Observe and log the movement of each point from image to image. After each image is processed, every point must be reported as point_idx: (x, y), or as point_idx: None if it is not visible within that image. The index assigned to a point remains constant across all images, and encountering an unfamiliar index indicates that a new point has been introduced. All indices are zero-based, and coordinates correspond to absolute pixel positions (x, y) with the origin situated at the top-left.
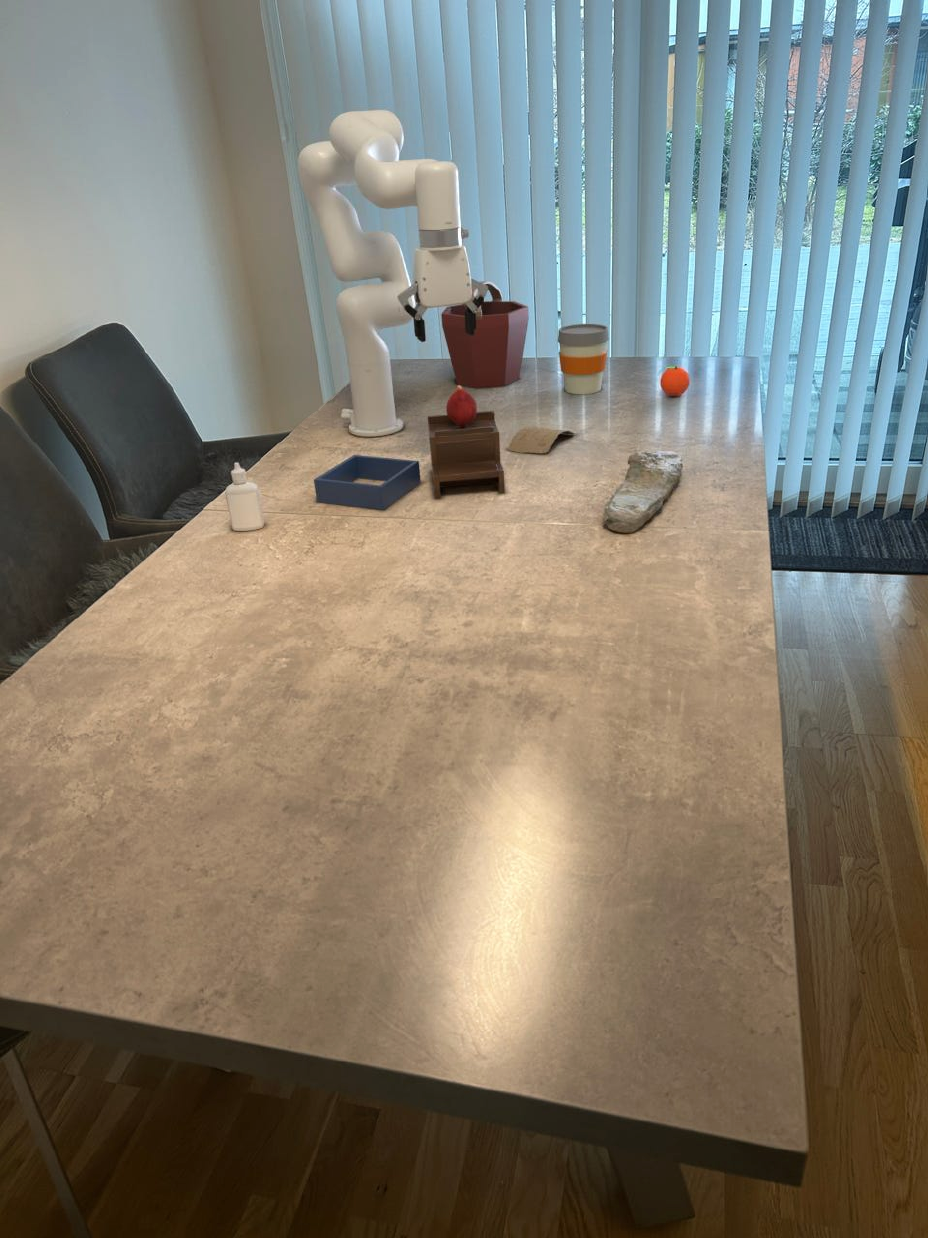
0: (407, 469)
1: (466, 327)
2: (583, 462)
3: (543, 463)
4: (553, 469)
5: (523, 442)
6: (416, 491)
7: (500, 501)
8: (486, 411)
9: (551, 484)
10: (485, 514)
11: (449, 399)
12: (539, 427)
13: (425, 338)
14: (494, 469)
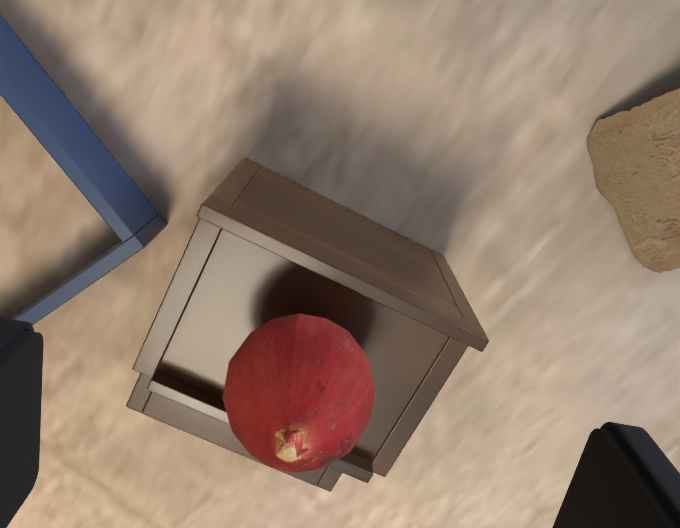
0: (76, 293)
1: (604, 498)
2: (665, 390)
3: (575, 323)
4: (558, 382)
5: (648, 162)
6: (125, 279)
7: (290, 481)
8: (457, 329)
9: (470, 467)
10: (214, 523)
11: (236, 401)
12: None
13: (22, 499)
14: (312, 470)
